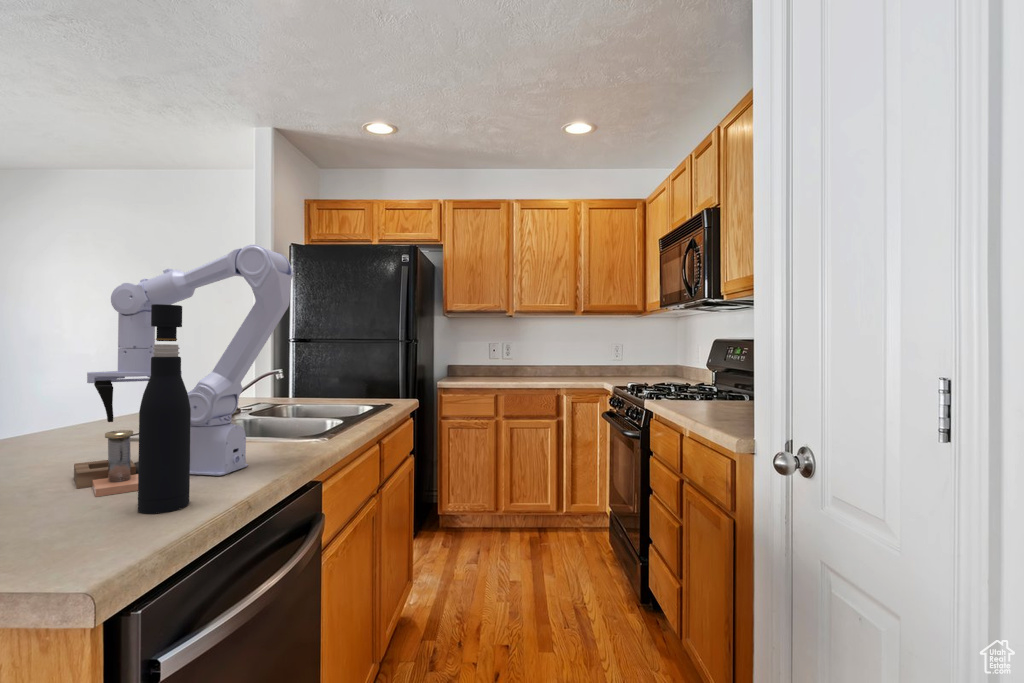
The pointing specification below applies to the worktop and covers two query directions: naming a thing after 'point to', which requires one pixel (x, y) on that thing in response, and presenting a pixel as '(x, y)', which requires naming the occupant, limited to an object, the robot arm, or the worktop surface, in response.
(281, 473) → the worktop surface
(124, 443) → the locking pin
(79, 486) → the clamp block
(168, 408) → the black water bottle
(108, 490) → the tile pad
